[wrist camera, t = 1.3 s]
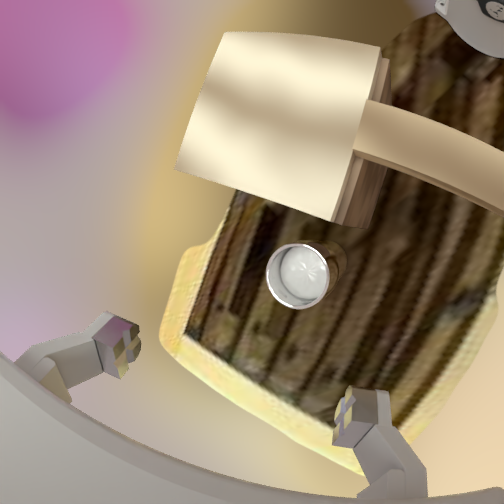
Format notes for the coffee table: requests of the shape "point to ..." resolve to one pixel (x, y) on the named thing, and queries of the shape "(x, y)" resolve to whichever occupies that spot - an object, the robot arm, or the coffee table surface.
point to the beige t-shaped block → (319, 126)
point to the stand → (366, 170)
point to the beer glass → (305, 272)
